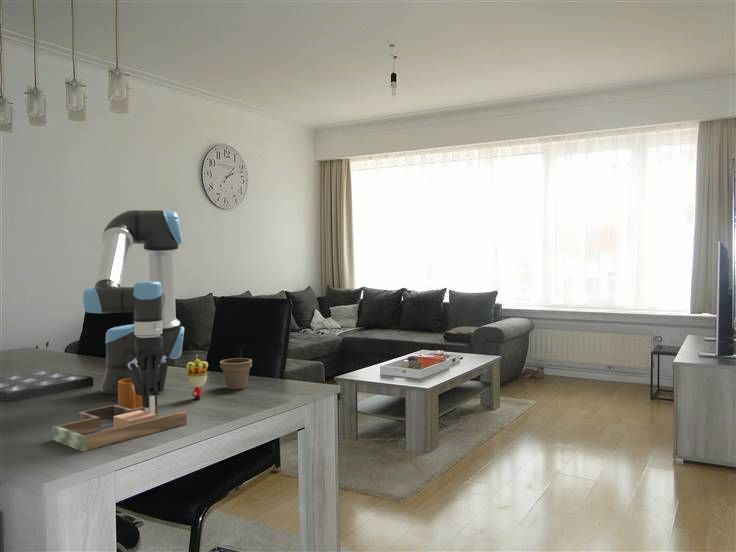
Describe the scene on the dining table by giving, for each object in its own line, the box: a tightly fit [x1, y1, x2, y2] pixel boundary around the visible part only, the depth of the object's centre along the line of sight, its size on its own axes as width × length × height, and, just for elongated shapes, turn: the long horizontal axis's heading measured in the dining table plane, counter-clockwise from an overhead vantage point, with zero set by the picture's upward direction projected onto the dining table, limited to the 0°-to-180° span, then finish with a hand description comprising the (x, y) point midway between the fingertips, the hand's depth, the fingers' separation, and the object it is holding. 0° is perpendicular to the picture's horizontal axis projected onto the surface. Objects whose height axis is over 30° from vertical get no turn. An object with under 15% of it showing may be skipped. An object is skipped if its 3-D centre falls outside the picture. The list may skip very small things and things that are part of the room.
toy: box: [185, 355, 209, 401], centre depth 200 cm, size 7×7×15 cm
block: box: [112, 410, 157, 428], centre depth 166 cm, size 8×8×4 cm
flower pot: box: [219, 357, 253, 390], centre depth 217 cm, size 12×11×10 cm
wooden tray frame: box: [52, 403, 188, 453], centre depth 166 cm, size 25×30×4 cm
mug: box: [117, 378, 143, 409], centre depth 186 cm, size 9×12×9 cm
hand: (150, 418), depth 169 cm, fingers closed
